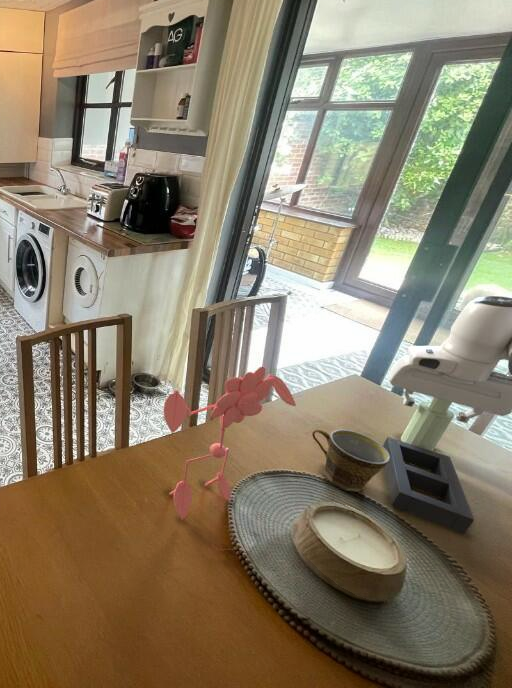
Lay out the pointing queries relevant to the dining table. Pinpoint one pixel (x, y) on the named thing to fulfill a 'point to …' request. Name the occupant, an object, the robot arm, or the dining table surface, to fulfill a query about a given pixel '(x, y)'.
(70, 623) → the dining table surface
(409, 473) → the holder
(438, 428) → the bottle
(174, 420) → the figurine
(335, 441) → the ceramic cup
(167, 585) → the dining table surface
